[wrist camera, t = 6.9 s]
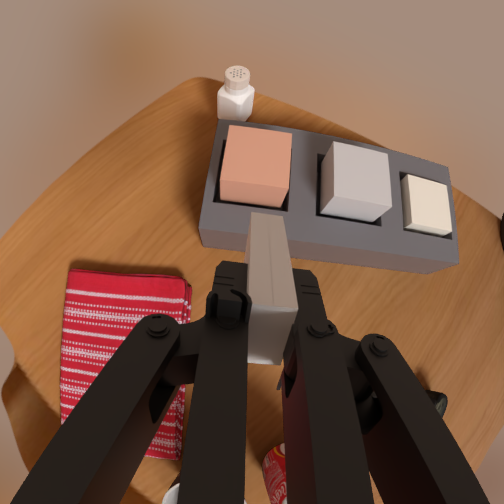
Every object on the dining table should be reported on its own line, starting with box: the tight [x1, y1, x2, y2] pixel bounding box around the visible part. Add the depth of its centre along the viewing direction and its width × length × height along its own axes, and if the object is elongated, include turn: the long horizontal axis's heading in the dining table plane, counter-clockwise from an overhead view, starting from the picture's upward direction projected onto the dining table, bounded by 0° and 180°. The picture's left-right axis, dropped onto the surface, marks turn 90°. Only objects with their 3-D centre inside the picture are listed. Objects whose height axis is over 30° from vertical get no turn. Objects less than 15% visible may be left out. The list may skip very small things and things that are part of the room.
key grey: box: [320, 141, 392, 222], centre depth 33 cm, size 6×6×5 cm
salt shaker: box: [217, 66, 255, 122], centre depth 40 cm, size 4×4×10 cm
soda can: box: [262, 443, 287, 504], centre depth 28 cm, size 7×7×12 cm
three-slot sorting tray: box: [198, 119, 459, 274], centre depth 38 cm, size 32×14×8 cm, turn 84°
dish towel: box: [60, 269, 192, 460], centre depth 34 cm, size 17×24×3 cm
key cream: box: [400, 174, 452, 237], centre depth 37 cm, size 6×6×5 cm
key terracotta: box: [220, 125, 292, 208], centre depth 32 cm, size 6×6×5 cm
